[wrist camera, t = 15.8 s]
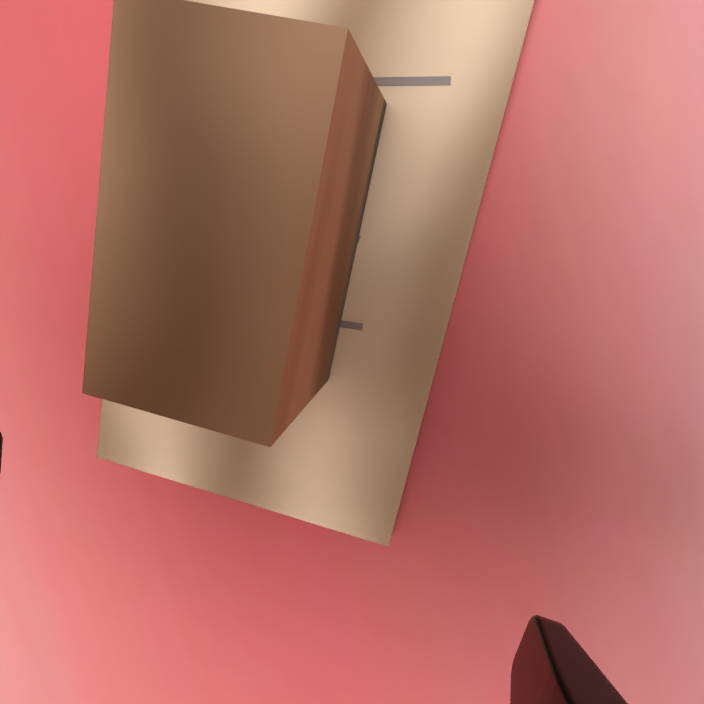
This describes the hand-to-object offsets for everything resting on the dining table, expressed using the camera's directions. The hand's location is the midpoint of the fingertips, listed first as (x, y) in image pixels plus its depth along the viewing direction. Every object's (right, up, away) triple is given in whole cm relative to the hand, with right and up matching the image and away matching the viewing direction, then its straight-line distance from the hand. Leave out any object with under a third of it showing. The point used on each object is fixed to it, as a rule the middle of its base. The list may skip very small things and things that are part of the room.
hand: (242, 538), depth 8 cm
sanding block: (-1, +7, +9) cm, 11 cm away
